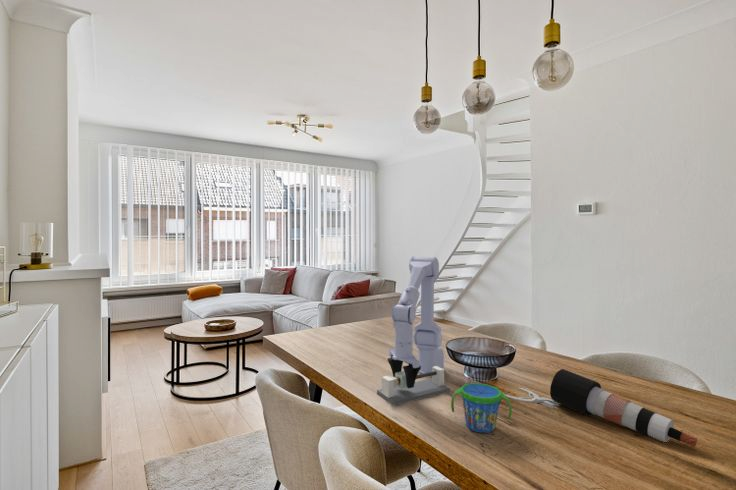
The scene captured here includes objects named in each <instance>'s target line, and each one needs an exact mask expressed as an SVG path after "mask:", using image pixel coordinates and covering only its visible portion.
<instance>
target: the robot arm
mask: <svg viewBox="0 0 736 490" xmlns="http://www.w3.org/2000/svg"><path fill="white" fill-rule="evenodd" d="M408 267H409V269H408V270H409V272H410V273H409V274H410V277H409V280H408V284H407V285H408V286H406V287H404V288H403V289H402V293H401V295H400V297H399V300H398V302H397V304H396V305H394V306H393V308H392V312H391V319H392V323H393V324H392V325H393V328H394V348H393V349H389V350H388V351H389V352H388V354H389V355H388V356H389V357H388V358H387V362H388V363H389V367H390V369H391V372H392V376H393V377H395V373H396V372H401V371H405V375H406V384H407V388H413V387H414V384H415V382H416V380H417V379H416V377H417V375H419V373H420V374H424V373H429V372H432V367H434V366H438V367H440V368H442V369H444V372H445V371H446V369H445V367H444V366H445V365H444V364H445V363H444V362H445V361H444V360H445V359H444V357H445V354H444V353H445V352H444V350H443V348H442V347H441V345H442V343H443V342H442V340H443V335H442V334H443V333H442V327H441V326H440V325H438V324H437V323H436V322H435V321H434V318H435V317H434V311H435V310H434V308H435V307H434V306H435V305H434V304H435V301H434V300H435V298H434V297H435V291H434V288H435V279H438V278H439V275H440V263H439V260H438V257H436V256H434V257H431V256H430V257H429V256H427V257H426V256H423V257H422V256H412V257H411V258H410V259H409V263H408ZM419 288H420V291H419ZM419 298H420V322H418V323H417V324H415V326H414V325H413V323H414V322H415V320H416V312H417V304H418V301H419ZM413 326H414V327H413ZM413 328H414V329H413ZM413 344H414V345H415V346H416V348H417V358H416V356H415V355H414V354H413V353H414V352H413V351H414V348H413V346H414V345H413ZM404 363H406V364H408V365H403V364H404ZM402 368H403V370H402Z"/></svg>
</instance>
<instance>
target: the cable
mask: <svg viewBox="0 0 736 490" xmlns="http://www.w3.org/2000/svg"><path fill="white" fill-rule="evenodd" d="M549 394H550V395H549V396H550V399H552V400H553V401H556V402H558V403H559V404H560V405H562V406H565V407H567V408H569V409H571V410H573V411H575V412H577V413H580V414H582V415H584V416H587V417H590V416H591V414H592V415H595V416H599V417H601V418H603V419H605V421H610V422H612V423H615V424H616V425H619V426H622V427H626V428H628V429H631V430H633V431H634V432H637V431H638V432H637V433H640V434H643V435H645V436H647V437H650V436H651V438H652V437H653V439H655V438H656V439H655V440H657V439H658V440H657V441H659V440H661V441H663V442H662V443H664V442H666V441H667V440H668V439H669V438H670V439H673V440H675V441H678V442H682V443H684V444H686V445H688V446H690V447H694V448H695V447H696V446H697V443H698V439H697V437H694V436H691V435H689V434H687V433H685V432H683V431H680V430H678V429H676V428H674V427H675V421H674V420H673V419H670V418H668V417H666V416H663V415H662V414H658V413H657V412H656V411H652V410H649V409H648V408H645V407H644V406H640V405H638V404H637V403H636V404H635V403H634V402H632V401H631V400H629V399H626V398H624V397H621V396H618V395H617V394H614V393H611V392H608V391H606V390H605V389H603V388H602V386H601V384H600V382H598V381H596V380H593V379H592V378H591V379H590V378H587V377H585V376H582V375H580V374H577V373H576V372H572V371H570V370H567V369H565V368H561V369H559V370H558V371H556V373H555V374H554V376H553V378H552V381H551V383H550V389H549ZM589 415H590V416H589ZM661 441H660V442H661Z"/></svg>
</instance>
